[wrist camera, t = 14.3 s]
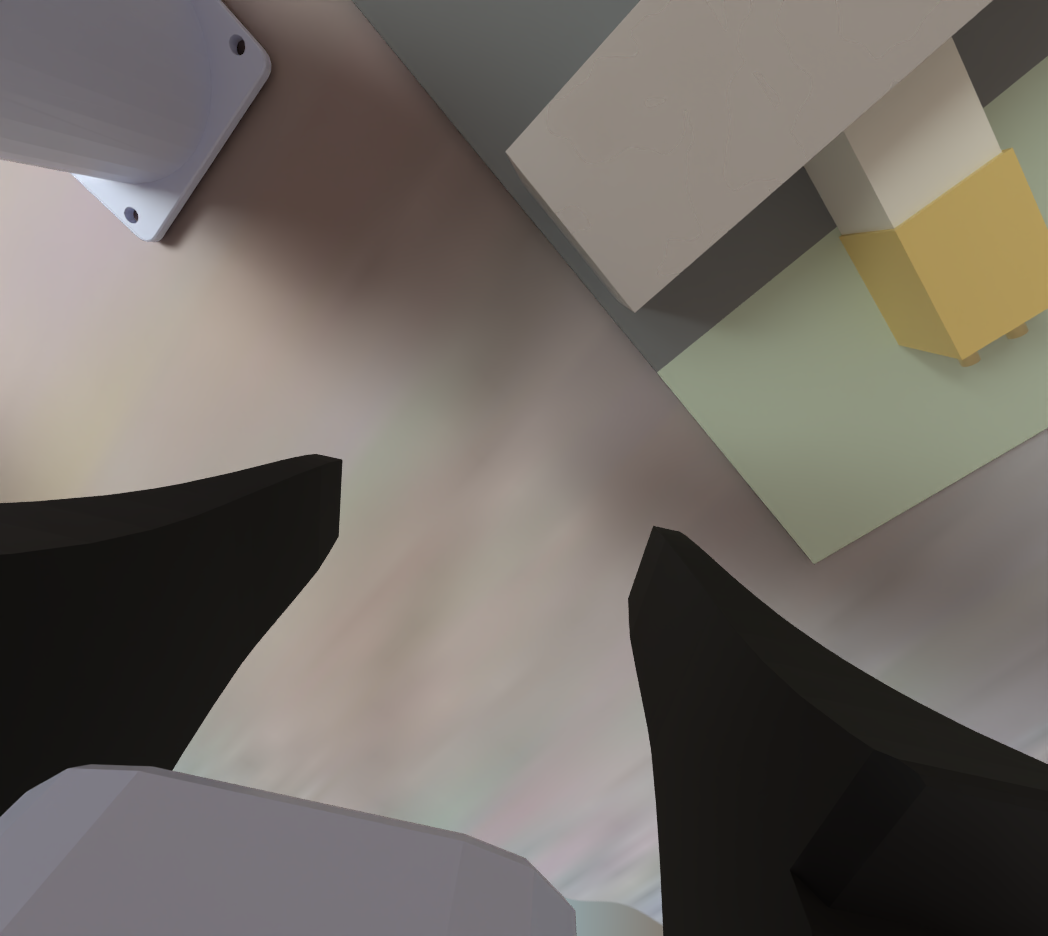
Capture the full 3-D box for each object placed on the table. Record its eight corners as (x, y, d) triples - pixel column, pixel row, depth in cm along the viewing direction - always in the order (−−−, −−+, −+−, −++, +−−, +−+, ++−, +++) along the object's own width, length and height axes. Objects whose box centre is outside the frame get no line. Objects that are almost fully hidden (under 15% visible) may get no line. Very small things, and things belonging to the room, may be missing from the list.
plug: (660, -85, 13) (684, -176, 11) (759, -190, 13) (813, -319, 10) (911, 367, 17) (975, 386, 15) (1000, 312, 16) (1086, 321, 14)
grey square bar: (523, 184, 16) (505, 151, 12) (985, -312, 12) (1264, -700, 7) (617, 301, 17) (634, 312, 13) (1073, -108, 13) (1361, -322, 8)
